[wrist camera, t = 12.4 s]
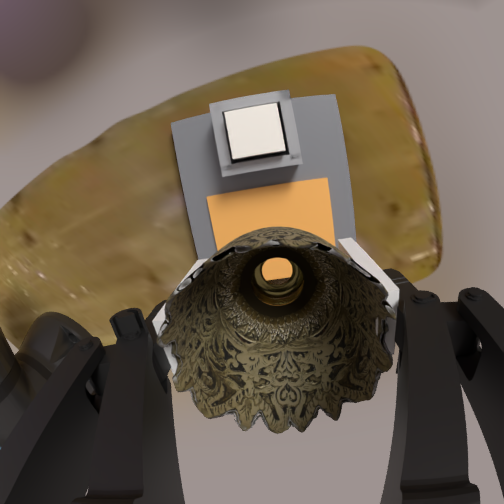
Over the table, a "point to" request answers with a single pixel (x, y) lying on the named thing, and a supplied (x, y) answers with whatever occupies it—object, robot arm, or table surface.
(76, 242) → the table surface
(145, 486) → the robot arm
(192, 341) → the cup
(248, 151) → the button
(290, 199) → the plate
